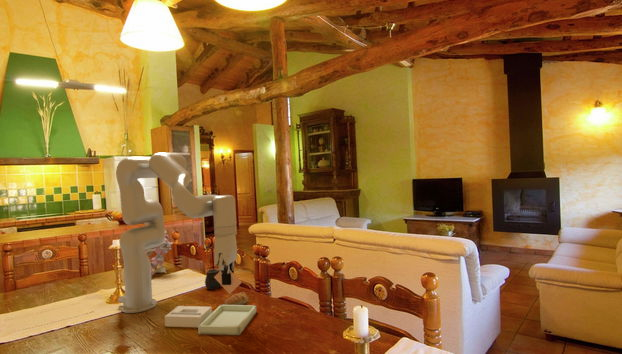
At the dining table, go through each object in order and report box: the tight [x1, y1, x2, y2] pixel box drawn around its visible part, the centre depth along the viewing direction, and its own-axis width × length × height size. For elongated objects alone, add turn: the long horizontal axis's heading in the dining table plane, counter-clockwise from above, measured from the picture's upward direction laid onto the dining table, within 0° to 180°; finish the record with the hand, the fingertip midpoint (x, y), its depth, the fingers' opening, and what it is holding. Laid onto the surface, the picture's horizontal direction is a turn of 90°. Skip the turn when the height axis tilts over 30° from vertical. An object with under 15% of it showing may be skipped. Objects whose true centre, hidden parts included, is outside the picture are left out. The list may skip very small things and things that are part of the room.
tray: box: [197, 304, 257, 336], centre depth 120 cm, size 14×18×2 cm
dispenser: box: [164, 305, 213, 328], centre depth 123 cm, size 13×9×4 cm
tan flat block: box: [214, 267, 243, 295], centre depth 120 cm, size 5×2×8 cm
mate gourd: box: [204, 268, 222, 290], centre depth 157 cm, size 7×8×10 cm
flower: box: [145, 228, 174, 277], centre depth 180 cm, size 20×22×25 cm
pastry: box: [223, 291, 249, 305], centre depth 137 cm, size 9×7×4 cm
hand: (228, 282), depth 120 cm, fingers closed on tan flat block, 2 cm apart
